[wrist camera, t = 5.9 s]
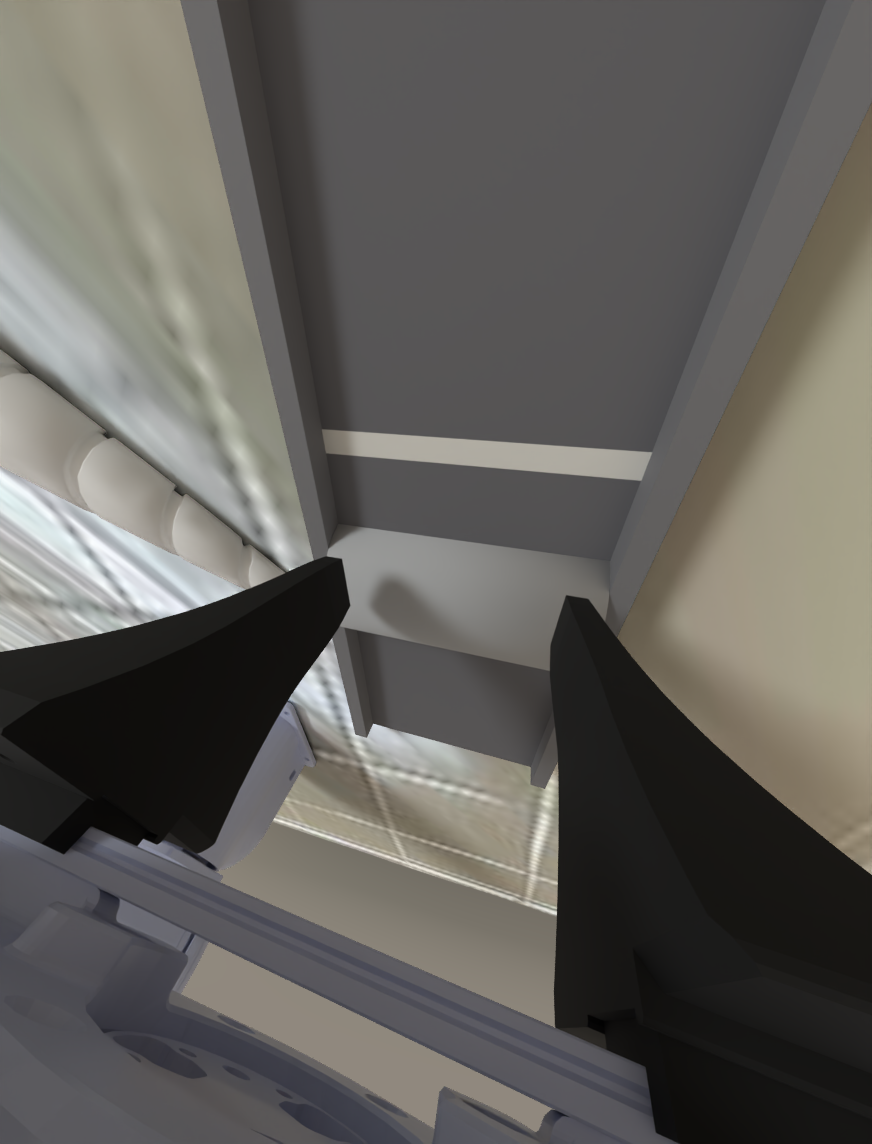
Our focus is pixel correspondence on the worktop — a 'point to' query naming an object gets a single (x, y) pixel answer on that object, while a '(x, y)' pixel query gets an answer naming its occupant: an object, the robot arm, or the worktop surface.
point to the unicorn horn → (112, 479)
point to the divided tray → (511, 298)
